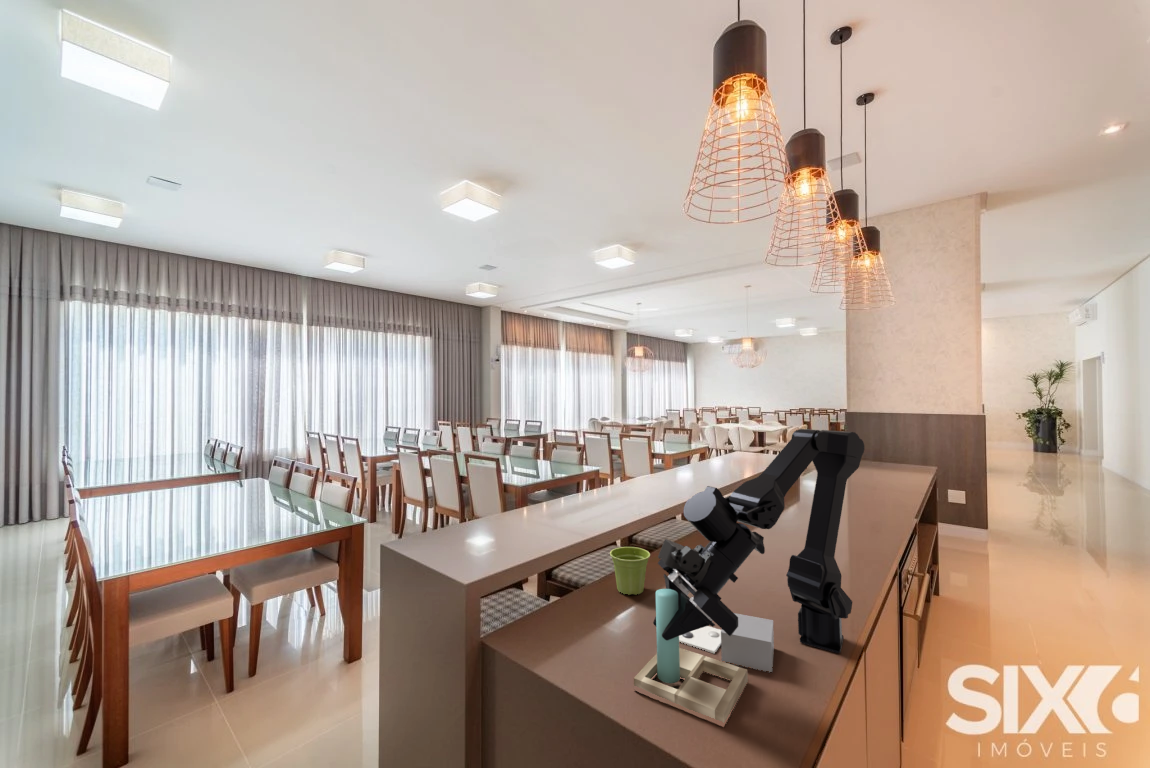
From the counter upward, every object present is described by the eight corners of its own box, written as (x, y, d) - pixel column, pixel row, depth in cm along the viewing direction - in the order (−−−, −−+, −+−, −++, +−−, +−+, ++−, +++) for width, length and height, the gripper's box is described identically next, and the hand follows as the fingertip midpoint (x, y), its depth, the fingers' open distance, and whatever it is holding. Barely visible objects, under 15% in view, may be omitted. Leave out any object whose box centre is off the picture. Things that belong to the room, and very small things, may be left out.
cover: (773, 648, 83) (773, 620, 83) (772, 672, 75) (771, 642, 75) (727, 638, 86) (726, 611, 86) (721, 661, 79) (720, 632, 79)
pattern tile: (728, 633, 88) (728, 630, 88) (714, 653, 81) (714, 650, 81) (688, 622, 92) (688, 619, 92) (672, 640, 86) (672, 637, 86)
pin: (683, 674, 73) (681, 592, 73) (674, 686, 70) (672, 600, 70) (663, 667, 75) (661, 586, 75) (653, 678, 72) (651, 594, 72)
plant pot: (624, 578, 114) (624, 543, 115) (658, 588, 108) (657, 551, 109) (602, 591, 107) (602, 554, 107) (637, 602, 101) (636, 563, 101)
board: (747, 682, 73) (747, 669, 73) (724, 728, 63) (723, 713, 63) (666, 654, 81) (665, 643, 81) (634, 691, 71) (633, 678, 71)
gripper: (667, 508, 83) (609, 575, 81) (716, 541, 64) (642, 629, 62) (709, 549, 84) (653, 616, 82) (769, 592, 65) (698, 680, 63)
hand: (659, 631), depth 72 cm, fingers closed on pin, 3 cm apart
